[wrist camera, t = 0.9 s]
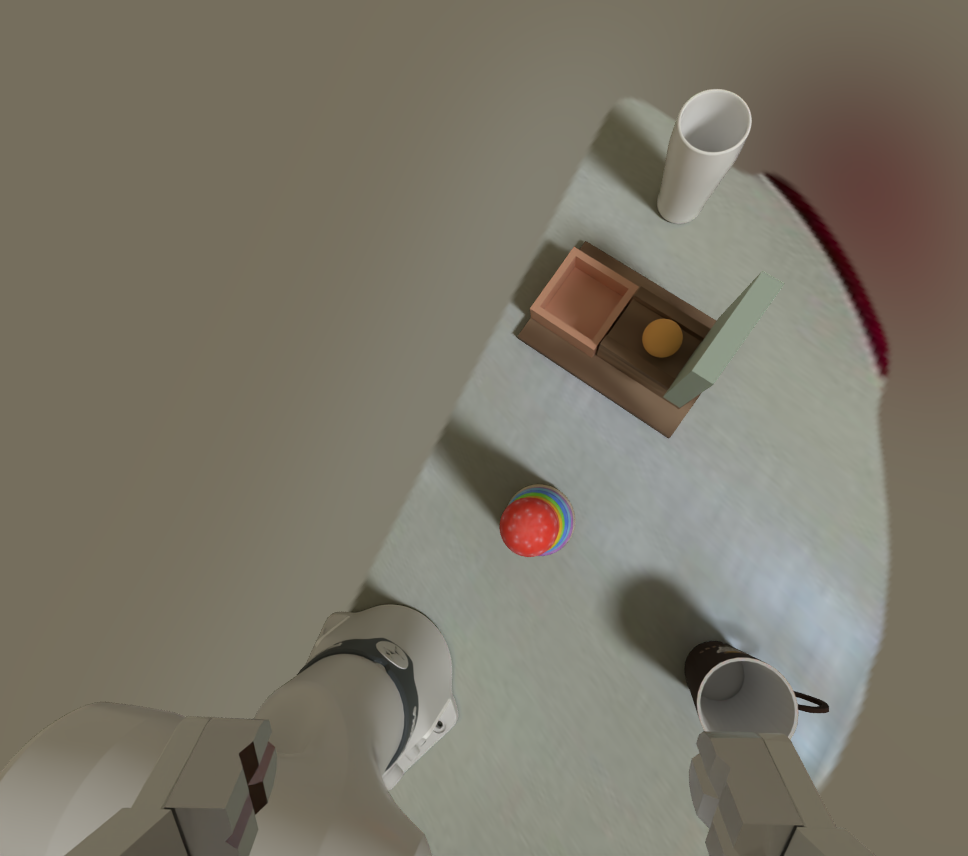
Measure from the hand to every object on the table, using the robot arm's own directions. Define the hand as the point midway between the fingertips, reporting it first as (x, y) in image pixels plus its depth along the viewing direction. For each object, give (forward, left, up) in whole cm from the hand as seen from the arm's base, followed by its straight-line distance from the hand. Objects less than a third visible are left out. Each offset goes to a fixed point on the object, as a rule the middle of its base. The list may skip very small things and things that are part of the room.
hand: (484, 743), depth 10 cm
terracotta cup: (+24, +12, -53) cm, 60 cm away
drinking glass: (+41, +9, -54) cm, 68 cm away
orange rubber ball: (+24, +2, -47) cm, 52 cm away
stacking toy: (+1, +1, -54) cm, 54 cm away
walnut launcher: (+24, +5, -53) cm, 59 cm away
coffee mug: (-1, -25, -54) cm, 59 cm away
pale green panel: (+24, -3, -48) cm, 54 cm away
